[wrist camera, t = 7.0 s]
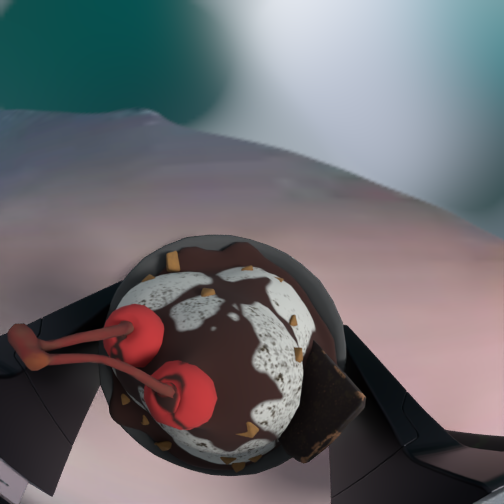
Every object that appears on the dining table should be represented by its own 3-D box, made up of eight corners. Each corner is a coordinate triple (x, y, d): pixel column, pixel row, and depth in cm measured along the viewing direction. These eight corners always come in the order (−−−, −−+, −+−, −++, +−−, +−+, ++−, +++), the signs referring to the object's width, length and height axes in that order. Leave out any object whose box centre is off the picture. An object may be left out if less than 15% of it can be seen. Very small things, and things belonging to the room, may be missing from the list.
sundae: (152, 323, 17) (-66, 240, 2) (252, 276, 18) (311, 54, 4) (201, 421, 15) (114, 617, 1) (302, 372, 16) (520, 435, 2)
